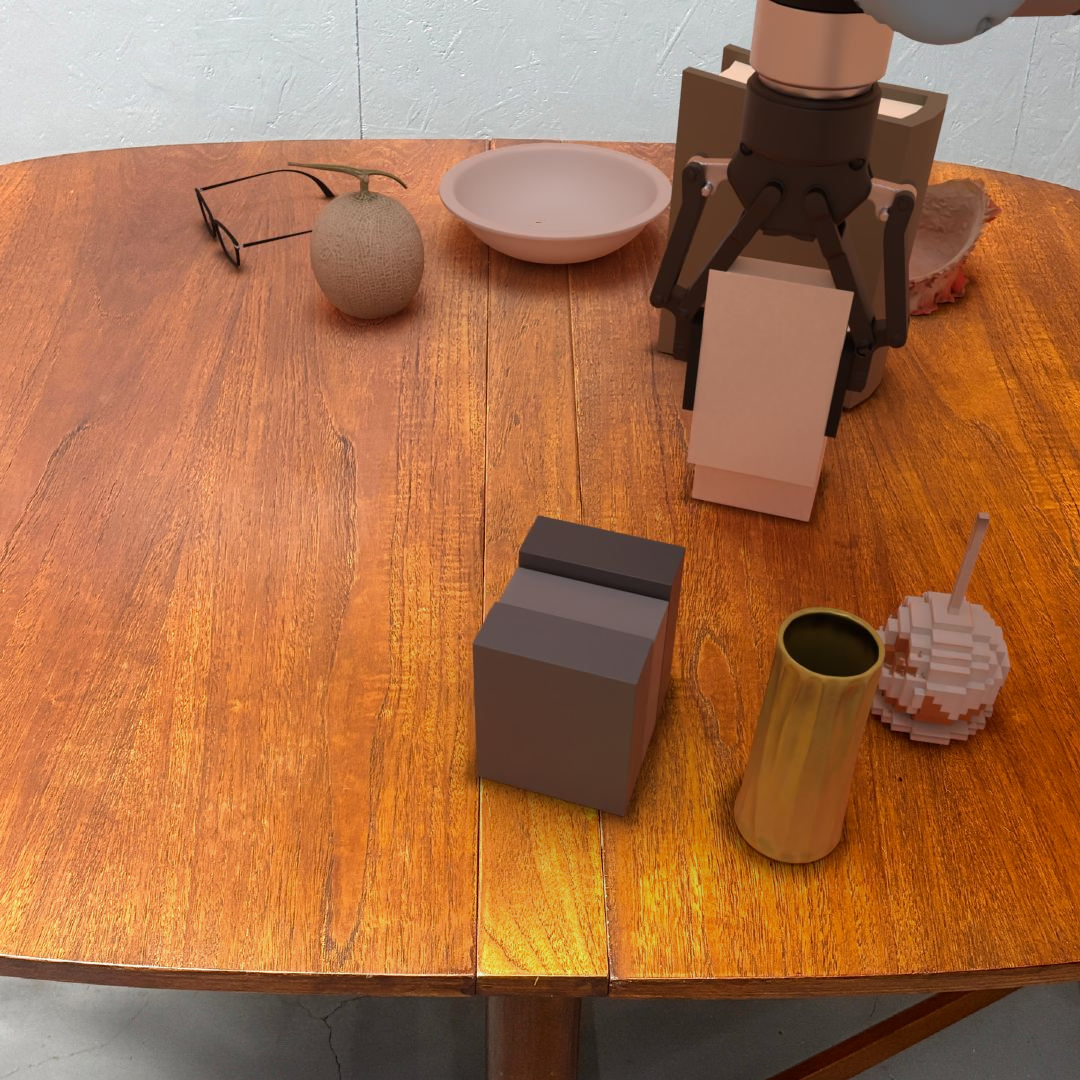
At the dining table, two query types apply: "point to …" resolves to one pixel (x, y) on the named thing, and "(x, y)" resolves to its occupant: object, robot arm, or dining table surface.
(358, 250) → the fruit
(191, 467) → the dining table surface
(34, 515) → the dining table surface
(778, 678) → the vase
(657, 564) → the grey books
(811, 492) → the white books
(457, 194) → the soup bowl
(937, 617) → the pale rounded piece
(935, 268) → the seashell
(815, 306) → the white book
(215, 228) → the eyeglasses
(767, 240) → the book
